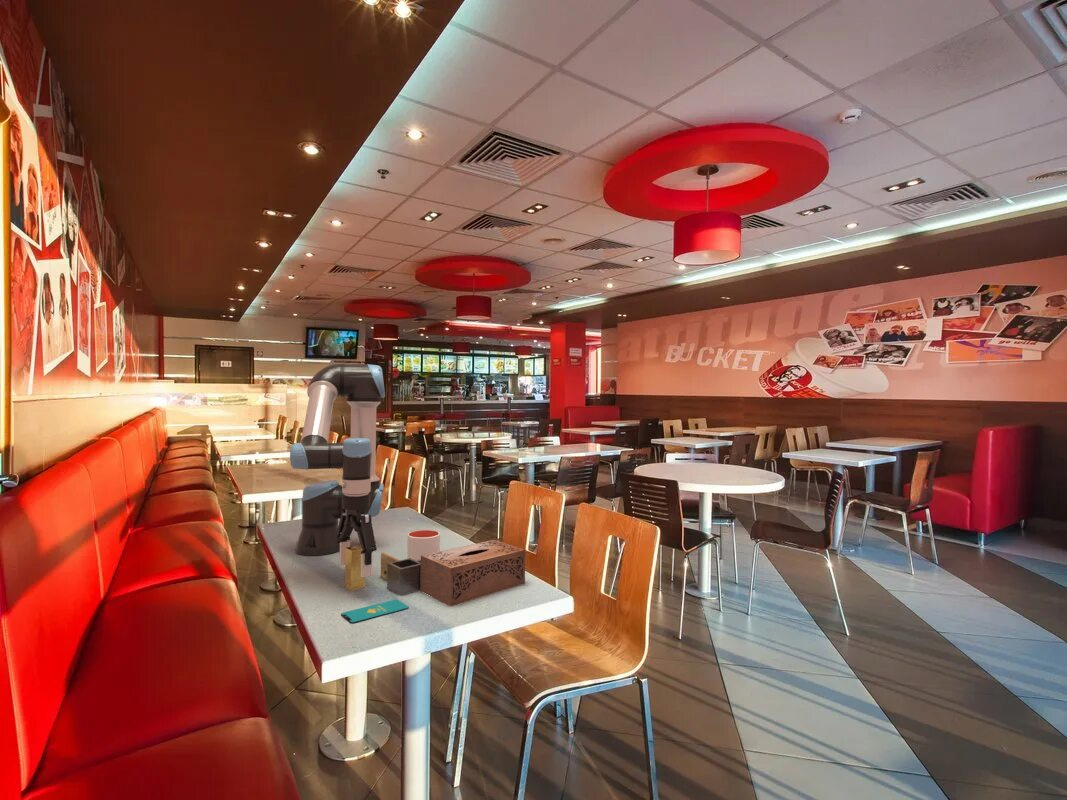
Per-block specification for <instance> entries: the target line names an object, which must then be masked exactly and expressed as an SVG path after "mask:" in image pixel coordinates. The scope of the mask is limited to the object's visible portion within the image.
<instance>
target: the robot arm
mask: <svg viewBox="0 0 1067 800" xmlns="http://www.w3.org/2000/svg"><path fill="white" fill-rule="evenodd" d="M383 375H384V374H383V369H382V367H381V366H380V365H376V364H368V363H367V364H363V363H333V364H332V363H331V364H329V365H327V366H325V367H323V368H321V369H320V370H319V371H317V372H316V373H315V374H314V375H313V376H312V377H311V379H310V381H309V383H308V385H307V390H306V395H307V397H308V398H309V399H308V402H307V407H306V408H307V409H306V414H305V417H304V418H305V419H304V423H303V428H302V432H301V438H300V442H295V443H292V445H291V446H290V452H289V464H290V467H291V468H292V469H294V470H306V471H308V470H327V469H328V470H329V469H331V470H332V469H333V470H334V469H337V470H338V469H342V477H341V478H342V482H341V484H340V482H339V481H338V480H324V481H319V482H313V483H310V484H308V485H306V486H304V488H303V489H302V496H301V497H302V499H301V502H302V504H301V505H302V507H301V511H302V513H301V515H302V516H301V517H302V518H301V531H300V533H299V536H298V538H297V541H296V545H295V552H296V554H299V555H303V556H323V555H329V554H334V553H337V552H339V566H340V567H341V566H345V548H347V547H351V540H352V539H351V535H352V533H353V530H354V532H356V533H357V536H358V540H359V543H360V544H359V545H360V546H361V547H362V550H363V551H361V577H362V578H363V577H365V578H367V577H371V576H372V573H373V572H372V571H373V570H372V569H373V568H372V567H373V566H372V562H373V558H372V557H373V555H372V554H373V553H374V552H377V545H376V544H377V543H376V538H375V534H374V529H373V523H372V521H373V520H372V518H375V517H378V516H379V514H380V512H381V507H382V501H383V494H384V487H385V485H384V483H382V482H381V481H380V479H381V478H379V476H378V475H377V473H376V457H377V455H376V454H377V453H376V451H377V450H376V449H377V447H376V446H377V408H378V406H379V405H381V404H382V399H383V398H386V392H385V384H384V376H383ZM339 397H340V398H346V403H347V404H348V405H349V406H350V438H344V440H343V442H329V438H330V433H331V432H330V431H331V422H332V415H333V408H334V402H335V401H336V399H337V398H339Z"/></svg>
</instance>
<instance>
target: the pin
mask: <svg viewBox="0 0 1067 800" xmlns="http://www.w3.org/2000/svg"><path fill="white" fill-rule="evenodd" d="M361 551H363V550H362V547H361V544H357V545H354V546H353V545H352V546H350V547H347V548H345V565H344V588H345V589H346V590H348V591H350V592H353V591H358V590H362V589H365V588H366V586H365V585H366V577H363V578H362V577H361Z"/></svg>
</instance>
